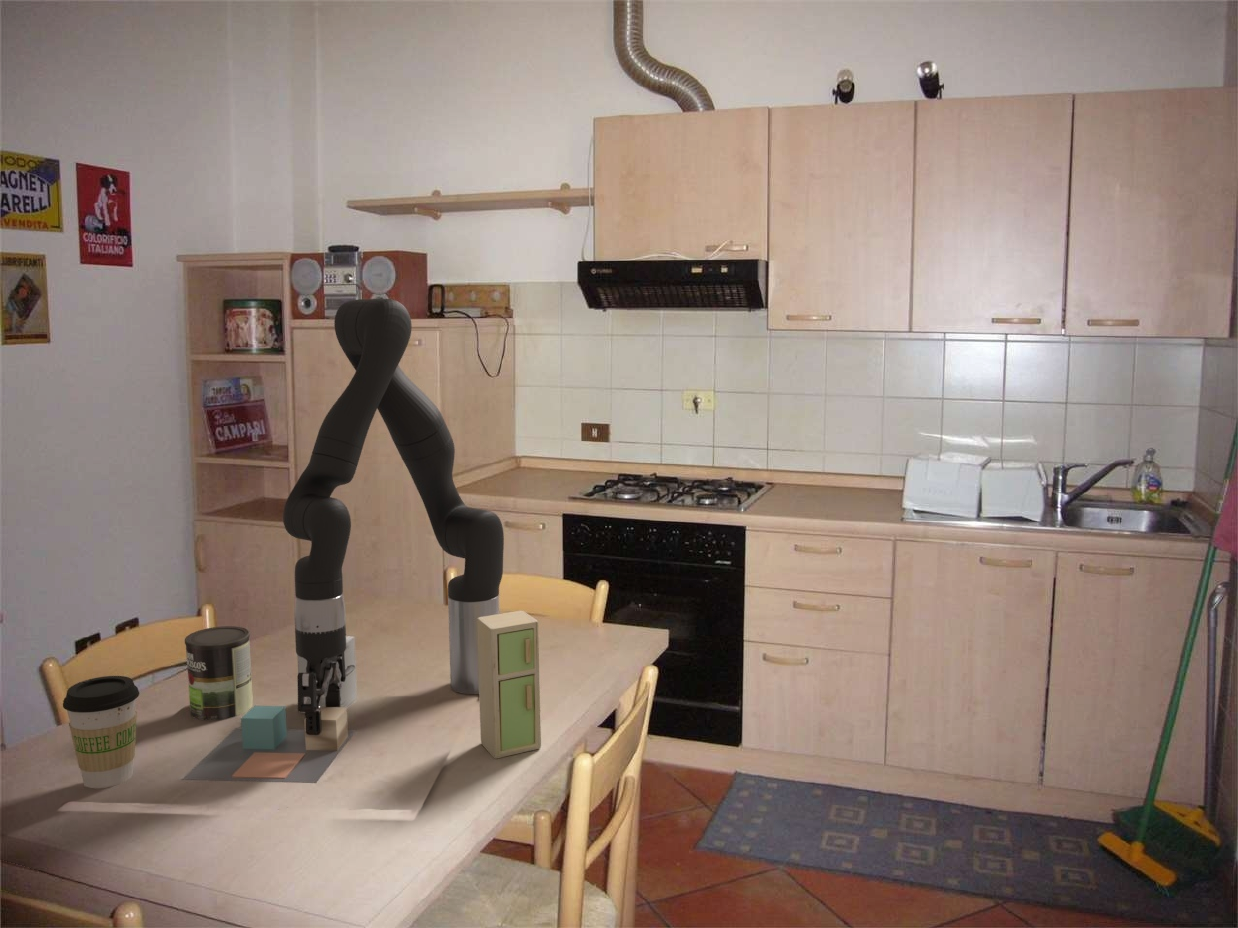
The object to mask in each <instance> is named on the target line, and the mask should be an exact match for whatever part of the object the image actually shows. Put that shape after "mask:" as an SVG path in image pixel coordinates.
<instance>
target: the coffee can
mask: <svg viewBox="0 0 1238 928" xmlns="http://www.w3.org/2000/svg"><path fill="white" fill-rule="evenodd" d="M250 636H251V633H250V630H249V629H247V628H245V627H242V626H234V625H233V626H232V625H231V626H230V625H229V626H228V625H226V626H225V625H224V626H213V627H209V628H203V629H201V630H200V629H199V630H196V631H194V632H191V633H190V634H188V635H187V636H186V637H184V645H185V650H186V651H185V652H186V665H187V680H188V681H187V682H188V695H189V698H188V699H189V711H190V712H189V713H190V716H191V717H192V718H194V719H197V720H200V721H220V720H221V721H222V720H228V719H231V718H236V717H238V716H241V715H245V714H246V713H247V712H248V711H249V710H250V709H252V708H253V707H254V699H253V684H252V683H253V681H252V663H251V662H252V661H251V646H250V645H251V644H250V643H251V641H250Z"/></svg>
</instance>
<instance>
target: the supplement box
mask: <svg viewBox="0 0 1238 928" xmlns="http://www.w3.org/2000/svg"><path fill="white" fill-rule="evenodd" d="M355 642H356V640H355V636H352V635H351V636H349V635H346V650H345V651H344V657H345V675H346V679H345V681H344V682H342V688H341V689H339V690H340V706H341V707H347V709H348V708H349V707H350V706H352V705H353V704H354V703H355V702H357V700H358V690H357V689H358V688H357V687H358V686H357V663H356V660H357V659H356V643H355ZM296 657H297V658H296V659H297V674H298V673H305V669H306V667H307V660H306V659H304V658H302V657H300V656H298V655H297V654H296ZM339 670H340V669H339ZM316 690H321V689H316ZM304 698H305V697H304ZM309 704H311V698H310V703H309ZM321 707H326V704H325V697H324V698H323V701H322V706H321ZM299 713H300V714H305V712H299Z"/></svg>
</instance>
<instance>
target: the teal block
mask: <svg viewBox="0 0 1238 928" xmlns="http://www.w3.org/2000/svg"><path fill="white" fill-rule="evenodd" d="M286 711H287V710H286V706H285V705H284V706H283V705H253V706H252V708H251V709H250V710H249V711H247V712H245V713H244V714H243V716H242V717H241V718H240V723H241V728H242V741H243V749H275V748H276V747H277V746H278V745H279V744H280V743H281V742H282V741H283V740H284V738H285V737H286V736H287V729H288V728H287V717H286V716H287V715H286V713H287V712H286Z"/></svg>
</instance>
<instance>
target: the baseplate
mask: <svg viewBox="0 0 1238 928" xmlns="http://www.w3.org/2000/svg"><path fill="white" fill-rule="evenodd" d="M356 732H357V730H348V738H347V739H346V741H345V742H344V743H343V744H342V746H341V747H340V748H339V750H338V751H325V750H306V742H305V729H296V728H295V729H294V728H293V729H291V728H287V736H286V737H285V738H284V740H283V741H282V742H281V743H280V744H279V745H278V746H277V747H276V748H275V749H243V741H242V727H236V728H235V729H233V730H232V731H231V732H230V733H229V734H228V735H227V736H226V737H224V739H223V740H222V741H221V742H219V743H218V744H217V745H216V747H214V749H212V750H211V751H210V752H209V753H208V754H207V755H206V756H204V758H203V759H202V760H201V761H200V762H198V763H197V764H196V765H195V766H194V767H193V768H192V769H191V770H190V771H188V773H186V775H184V777H182V778H181V781H187V780H189V781H215V782H216V781H220V782H221V781H222V782H226V781H227V782H257V783H258V782H262V783H263V782H264V783H267V782H268V783H271V782H272V783H301V784H302V783H306V784H308V783H310V784H317V783H318V782H319V780H320V778H321V777H322V776H323V775H324V773H326V771H327V770H328V769H329V767H330V766H331V765H332V763H333V762H334V760H336V758H337V757H338V755H339V754H340V752H341V751H342V750H343V749H344V748H345V747H346V745H347V744H348V742H349V741H350V740H351V739H352V737H353V736H354V735H355V733H356Z"/></svg>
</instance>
